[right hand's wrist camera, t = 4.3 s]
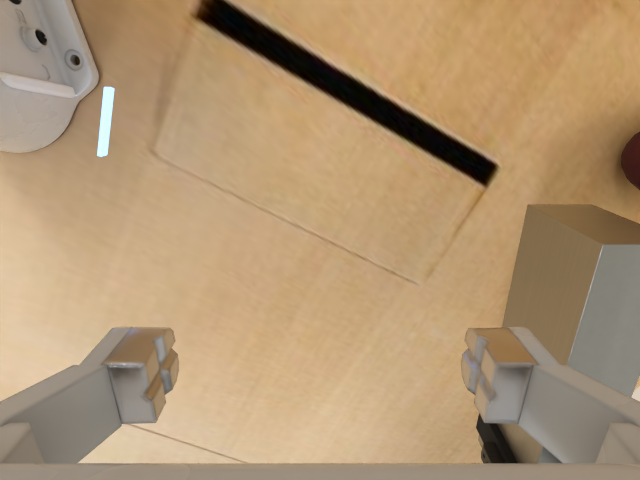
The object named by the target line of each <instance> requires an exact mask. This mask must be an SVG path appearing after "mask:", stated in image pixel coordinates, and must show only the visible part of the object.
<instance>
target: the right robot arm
mask: <svg viewBox="0 0 640 480" xmlns="http://www.w3.org/2000/svg"><path fill="white" fill-rule="evenodd" d="M76 56H78V57H79V59H80V64H79V65H77V64H76V62H75V58H76ZM98 81H99V74H98V70H97V67H96V65H95V62H94V59H93V57H92V54H91V51H90V49H89V46H88V43H87V41H86V38H85V35H84V33H83V30H82V27H81V25H80V22H79V20H78V17H77V14H76V12H75V9H74V6H73V4H72V1H71V0H0V151H4V152H11V153H25V152H31V151H36V150H39V149H42V148H44V147H46V146H48V145H49V144H51V143H53V142H54V141H55V140H56V139H57V138H59V137H60V135H61V134H62V133H63V132H64V131H65V129H66V128H67V126H68V124H69V122H70V120H71V118H72V116H73V113H74V111H75V108H76V106H77V104H78V103H79V101H80V100H81V99H83V98H84V97H85V96H86V95H88V94H89V93H90V92H91V91H92V90H93V89H94V88H95V87H96V85H97V84H98ZM113 96H114V88H112V87H104V92H103V102H102V113H101V123H100V133H99V143H98V153H97V156H100V157H102V156H105V155H107V152H108V143H109V133H110V124H111V115H112V106H113ZM174 342H175V337H174V332H173V330H172V329H171V328H157V327H115V328H112V329H111V330H110V331H109V332H108V334H107V335H106V336H105V337H104V338H103V339H102V340H101V341H100V343H99V344H98V345H97V346H96V347H95V348H94V349H93V350H92V351H91V353H90V354H89V355H88V356H87V357H86V358H85V359H84V360H83V362H82V363H81V364H80V365H73V366H71V367H69V368H67V369H65V370H63V371H61V372H59V373H57V374H55V375H53V376H51V377H49V378H47V379H45V380H43V381H41V382H39V383H37V384H35V385H33V386H31V387H29V388H27V389H25V390H23V391H21V392H19V393H17V394H15V395H13V396H11V397H9V398H7V399H5V400H3V401H1V402H0V480H640V402H639V401H637V400H635V399H633V398H631V397H629V396H627V395H625V394H623V393H621V392H619V391H617V390H615V389H613V388H611V387H609V386H607V385H605V384H603V383H601V382H599V381H597V380H595V379H593V378H591V377H589V376H587V375H585V374H583V373H581V372H579V371H577V370H575V369H573V368H571V367H569V366H567V365H560V364H559V363H558V362H557V360H556V359H555V358H554V357H553V356H552V355H551V354H550V353H549V351H548V350H547V349H546V348H545V347H544V346H543V345H542V344H541V342H540V341H539V340H538V339H537V338H536V337H535V336H534V335H533V334H532V332H531V331H530V330H529V329H528V328H525V327H505V328H468V330H467V332H466V336H465V342H466V344H467V346H468V349H467V350H466V351H465V352H464V353H463V354H462V361H461V370H462V377H463V380H464V383H465V385H466V387H467V389H468V390H469V391H470V392H472V393H473V394H475V400H474V403H475V405H476V407H477V409H478V411H479V413H480V415H481V417H482V419H483V421H484V423H505V424H518V426H519V427H521V428H522V429H523V430H524V431H525V432H527V433H528V434H529V435H530V436H531V437H532V438H534V439H535V440H536V441H537V442H538V443H540V444H541V445H542V446H543V447H544V448H546V449H547V450H548V451H549V452H550V453H551V454H553V455H554V456H555V457H556V458H557V459H559V460H560V461H561V462H562V463H530V464H500V463H264V464H121V463H78V462H79V461H80V460H81V459H83V458H84V457H85V456H86V455H87V454H89V453H90V452H91V451H92V450H93V449H95V448H96V447H97V446H98V445H99V444H101V443H102V442H103V441H104V440H105V439H106V438H108V437H109V436H110V435H111V434H112V433H114V432H115V431H116V430H117V429H118V428H120V427H121V426H122V424H134V423H156V421H157V419H158V417H159V415H160V413H161V411H162V409H163V407H164V405H165V403H166V400H165V394H167V393H168V392H170V391H171V390H172V389H173V387H174V385H175V383H176V381H177V376H178V371H179V360H178V354H177V353H176V352H175V351H174V350H173V349H172V346H173V344H174Z"/></svg>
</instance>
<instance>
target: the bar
mask: <svg viewBox="0 0 640 480" xmlns="http://www.w3.org/2000/svg"><path fill="white" fill-rule="evenodd" d="M505 327H525V328H528V329H529V330H530V331H531V332H532V334H533V335H534V336H535V337H536V338H537V339H538V340H539V341H540V342H541V344H542V345H543V346H544V347H545V348H546V349H547V350H548V351H549V353H550V354H551V355H552V356H553V357H554V358H555V359H556V360H557V362H558V363H559V364H560V365H567V366H569V367H571V368H573V369H575V370H577V371H579V372H581V373H583V374H585V375H587V376H589V377H591V378H593V379H595V380H597V381H599V382H601V383H603V384H605V385H607V386H609V387H611V388H613V389H615V390H617V391H619V392H621V393H623V394H625V395H627V396H629V397H631V396H632V394H633V391H634V389H635V386H636V383H637V381H638V378H639V376H640V224H638V223H636V222H633V221H631V220H628V219H626V218H623V217H621V216H618V215H616V214H614V213H611V212H609V211H606V210H604V209H601V208H599V207H596V206H594V205H528V206H527V210H526V215H525V220H524V225H523V229H522V234H521V239H520V244H519V248H518V253H517V258H516V263H515V268H514V272H513V277H512V282H511V287H510V291H509V296H508V301H507V306H506V310H505V315H504V320H503V325H502V328H505ZM497 425H498V427H499V429H500V431H501V432H502V434H503V436H504V438H505V440H506V442H507V444H508V445H509V447H510V449H511V451H512V453H513V455H514V457H515V458H516V460H517V462H518V464H530V463H562V462H561V461H560V460H559V459H557V458H556V457H555V456H554V455H553V454H551V453H550V452H549V451H548V450H547V449H546V448H544V447H543V446H542V445H541V444H540V443H538V442H537V441H536V440H535V439H534V438H532V437H531V436H530V435H529V434H528V433H527V432H525V431H524V430H523V429H522V428H521V427H519V426H518V424H505V423H497ZM478 440H479V442H480V445H481V447H483V441H482V439H481V437H480V435H479V439H478Z"/></svg>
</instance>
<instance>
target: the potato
mask: <svg viewBox="0 0 640 480" xmlns="http://www.w3.org/2000/svg"><path fill="white" fill-rule="evenodd" d="M621 165H622V168H623V170H624V172H625V175H626V177H627V179H628V180H629V181H630V182H631V183H632V184H633V185H635V186H636V187H637V188H638V189H639V190H640V132H639V133H637V134H636V135H634V137H633V138H632V139H631V140H630V141H629V142H628V143H627V144H626V147H625V149H624V151H623V153H622V160H621Z"/></svg>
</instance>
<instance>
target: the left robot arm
mask: <svg viewBox="0 0 640 480" xmlns="http://www.w3.org/2000/svg"><path fill="white" fill-rule="evenodd" d="M476 428H477V430H478V433H479V435H480V437H481V439H482V441H483V447H482V452H481V459H482V461H483V463H500V464H518V462H517V460H516V458H515V457H514V455H513V453H512V451H511V449H510V447H509V445H508V444H507V442H506V440H505V438H504V436H503V434H502V432H501V431H500V429H499V427H498V425H497V423H484V421H483V419H482V417H481V415H480V413H479V416H478V421H477V426H476Z"/></svg>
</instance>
